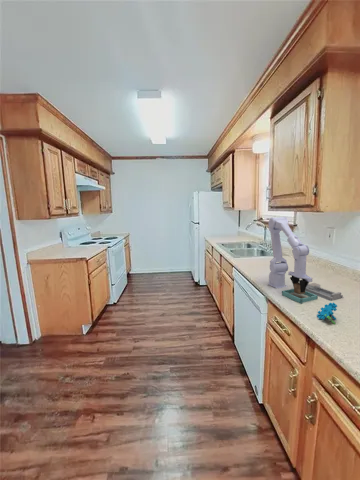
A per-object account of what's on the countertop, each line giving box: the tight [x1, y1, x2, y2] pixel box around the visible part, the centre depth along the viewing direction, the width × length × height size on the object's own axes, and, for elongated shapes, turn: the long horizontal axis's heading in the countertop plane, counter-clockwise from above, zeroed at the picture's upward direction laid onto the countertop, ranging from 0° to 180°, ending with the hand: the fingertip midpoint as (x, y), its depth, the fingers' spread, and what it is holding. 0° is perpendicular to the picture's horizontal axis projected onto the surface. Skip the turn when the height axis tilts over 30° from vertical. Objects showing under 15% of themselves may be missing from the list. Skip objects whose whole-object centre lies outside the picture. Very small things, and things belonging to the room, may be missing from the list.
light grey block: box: [308, 282, 321, 291], centre depth 139 cm, size 4×5×4 cm
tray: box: [281, 288, 319, 305], centre depth 132 cm, size 14×12×2 cm
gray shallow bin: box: [305, 282, 344, 302], centre depth 136 cm, size 22×10×4 cm, turn 20°
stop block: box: [293, 282, 305, 295], centre depth 131 cm, size 4×4×5 cm
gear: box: [316, 302, 338, 325], centre depth 107 cm, size 11×6×10 cm
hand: (299, 290), depth 131 cm, fingers closed on stop block, 4 cm apart
